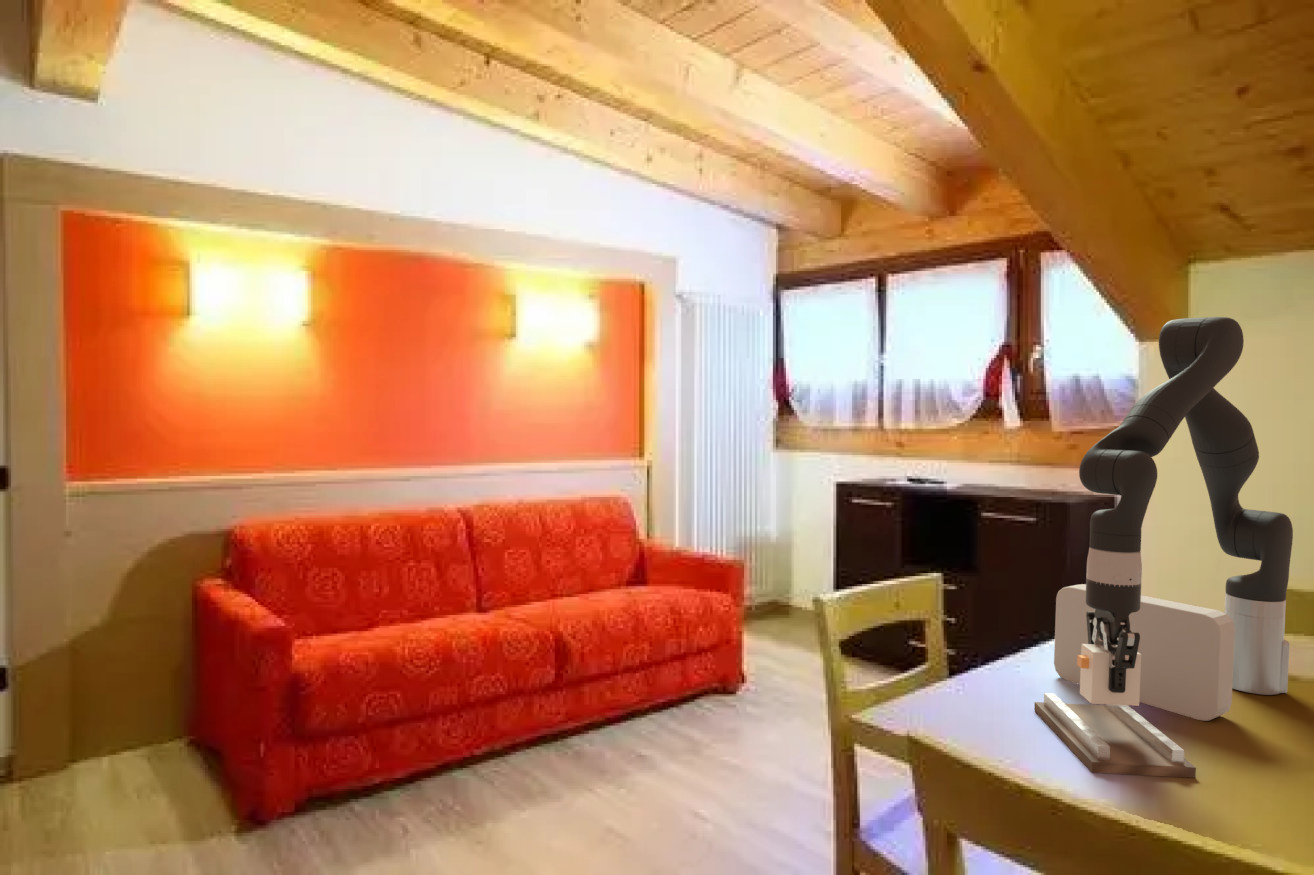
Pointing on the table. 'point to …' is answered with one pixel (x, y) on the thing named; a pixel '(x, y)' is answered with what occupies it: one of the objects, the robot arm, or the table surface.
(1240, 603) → the robot arm
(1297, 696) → the table surface
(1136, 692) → the block
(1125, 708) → the mounting rail
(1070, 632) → the rounded white slab
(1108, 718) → the mounting board
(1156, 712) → the table surface
